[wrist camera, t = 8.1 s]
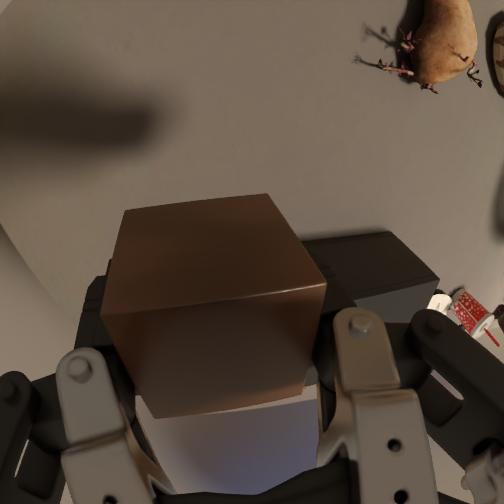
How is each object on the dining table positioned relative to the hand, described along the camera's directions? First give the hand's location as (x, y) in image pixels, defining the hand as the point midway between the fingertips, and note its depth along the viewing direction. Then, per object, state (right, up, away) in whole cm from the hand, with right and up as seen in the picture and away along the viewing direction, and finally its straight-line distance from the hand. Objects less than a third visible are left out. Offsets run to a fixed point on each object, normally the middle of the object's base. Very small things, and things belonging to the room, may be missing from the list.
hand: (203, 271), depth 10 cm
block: (0, 0, 0) cm, 1 cm away
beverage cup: (+42, -8, +41) cm, 59 cm away
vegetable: (+18, +24, +11) cm, 32 cm away
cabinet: (+11, -3, +28) cm, 30 cm away
